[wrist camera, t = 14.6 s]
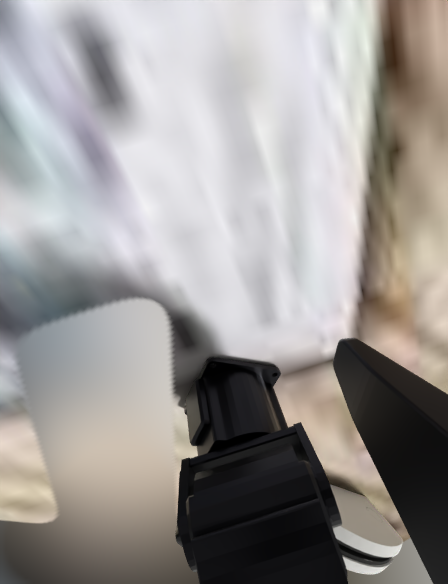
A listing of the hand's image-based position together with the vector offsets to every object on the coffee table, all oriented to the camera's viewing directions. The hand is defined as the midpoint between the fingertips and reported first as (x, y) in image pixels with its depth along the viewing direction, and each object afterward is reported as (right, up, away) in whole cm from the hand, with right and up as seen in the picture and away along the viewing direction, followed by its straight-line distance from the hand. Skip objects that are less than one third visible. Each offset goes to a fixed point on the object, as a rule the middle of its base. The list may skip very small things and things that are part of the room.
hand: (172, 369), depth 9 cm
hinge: (+14, -23, +35) cm, 44 cm away
